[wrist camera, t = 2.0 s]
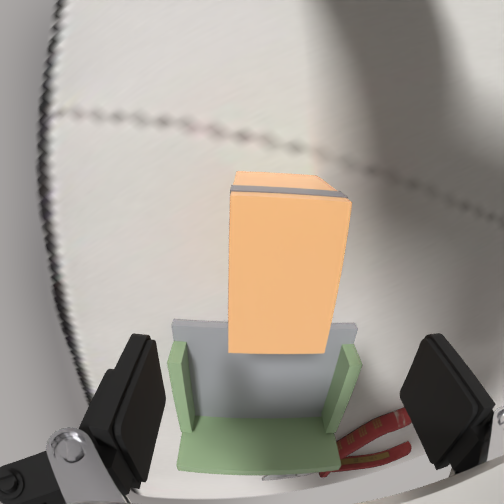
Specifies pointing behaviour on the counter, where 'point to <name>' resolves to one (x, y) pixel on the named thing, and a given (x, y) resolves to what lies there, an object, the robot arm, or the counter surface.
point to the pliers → (362, 438)
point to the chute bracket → (259, 402)
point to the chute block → (284, 262)
